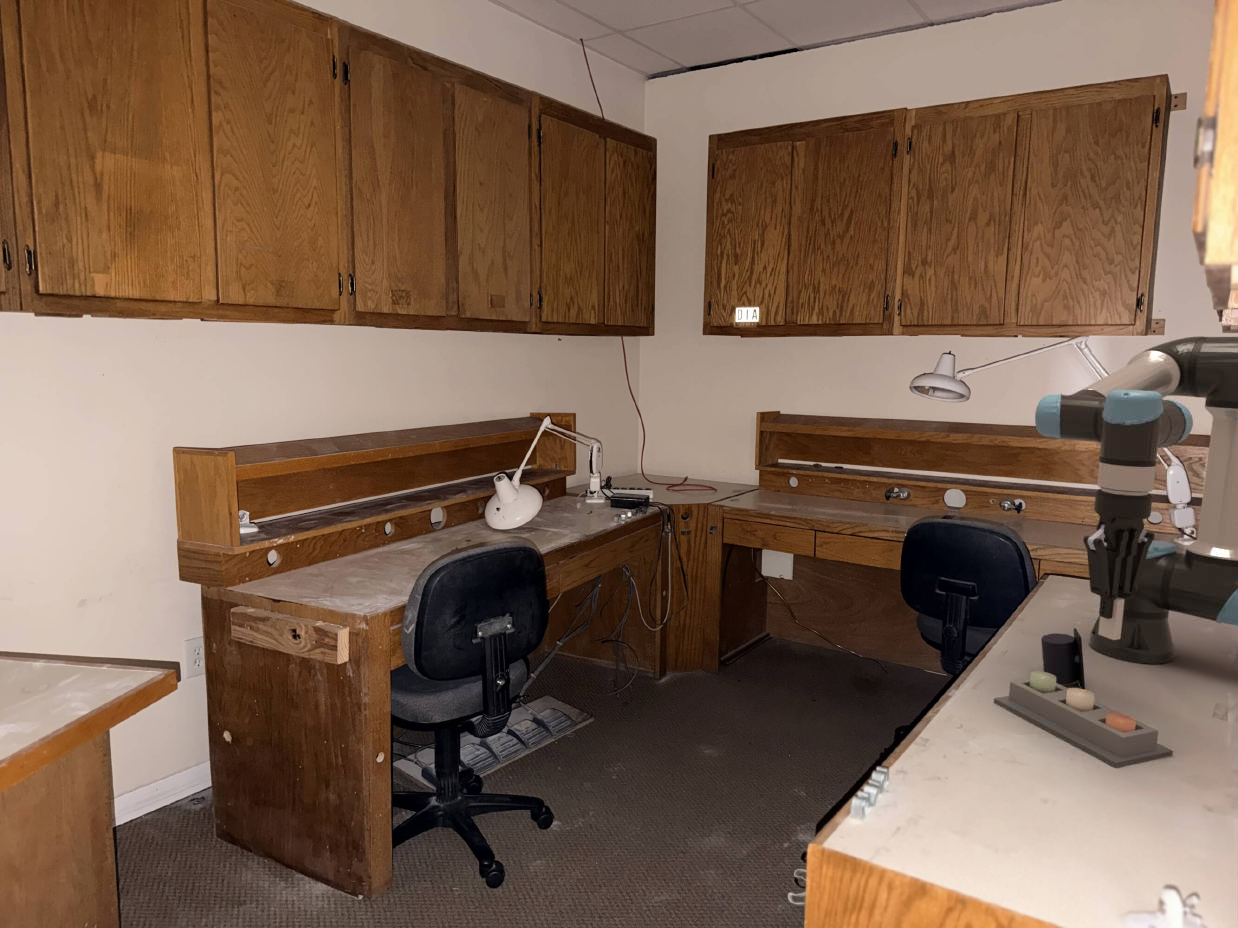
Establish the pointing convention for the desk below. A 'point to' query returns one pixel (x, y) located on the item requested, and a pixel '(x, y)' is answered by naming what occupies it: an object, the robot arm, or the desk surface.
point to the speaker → (1064, 658)
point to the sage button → (1043, 681)
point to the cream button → (1080, 699)
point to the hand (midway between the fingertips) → (1109, 636)
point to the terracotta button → (1120, 722)
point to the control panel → (1083, 725)
